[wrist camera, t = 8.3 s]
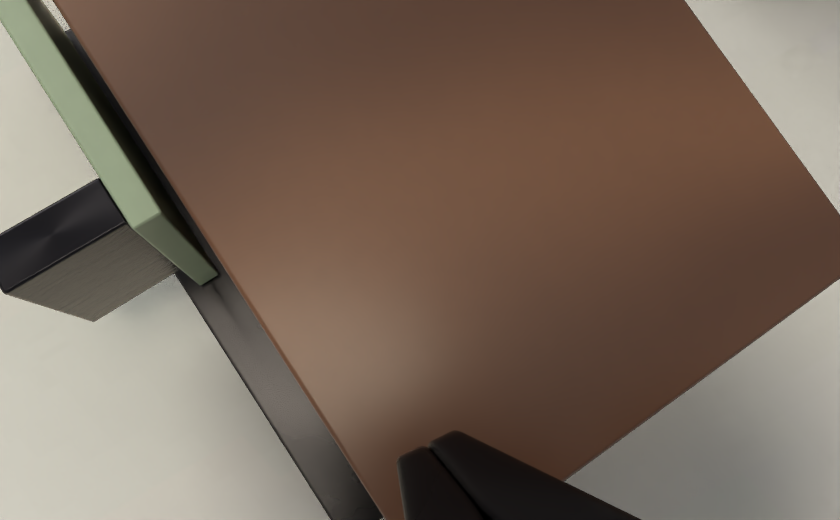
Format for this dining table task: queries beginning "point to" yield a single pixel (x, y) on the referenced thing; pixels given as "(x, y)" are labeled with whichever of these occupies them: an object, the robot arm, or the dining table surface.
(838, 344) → the dining table surface
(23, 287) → the sliding cabinet door
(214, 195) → the cabinet
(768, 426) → the dining table surface
